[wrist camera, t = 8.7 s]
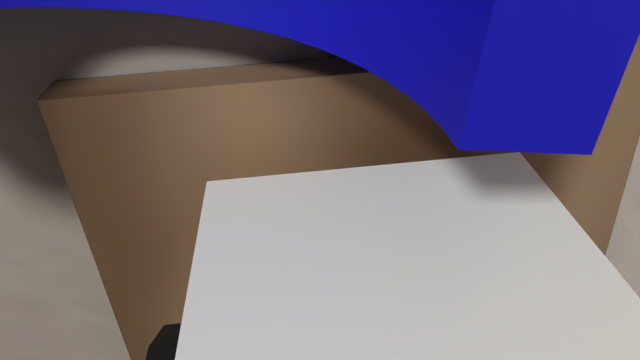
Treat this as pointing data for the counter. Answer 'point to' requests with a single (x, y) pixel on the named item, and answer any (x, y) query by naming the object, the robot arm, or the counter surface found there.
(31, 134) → the counter surface
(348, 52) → the blue curved saddle bracket
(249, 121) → the pin base
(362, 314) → the white hollow square block
